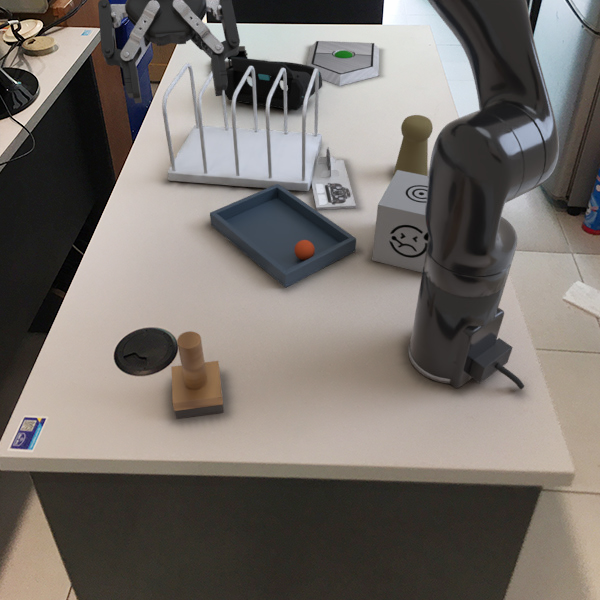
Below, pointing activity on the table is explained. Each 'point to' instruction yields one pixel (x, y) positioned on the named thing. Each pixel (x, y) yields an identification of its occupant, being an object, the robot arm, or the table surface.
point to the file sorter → (245, 145)
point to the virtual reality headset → (270, 82)
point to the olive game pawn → (414, 145)
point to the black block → (241, 54)
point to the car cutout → (331, 184)
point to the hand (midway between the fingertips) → (179, 97)
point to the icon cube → (402, 222)
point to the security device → (344, 61)
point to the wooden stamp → (195, 380)
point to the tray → (282, 233)
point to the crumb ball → (304, 249)
